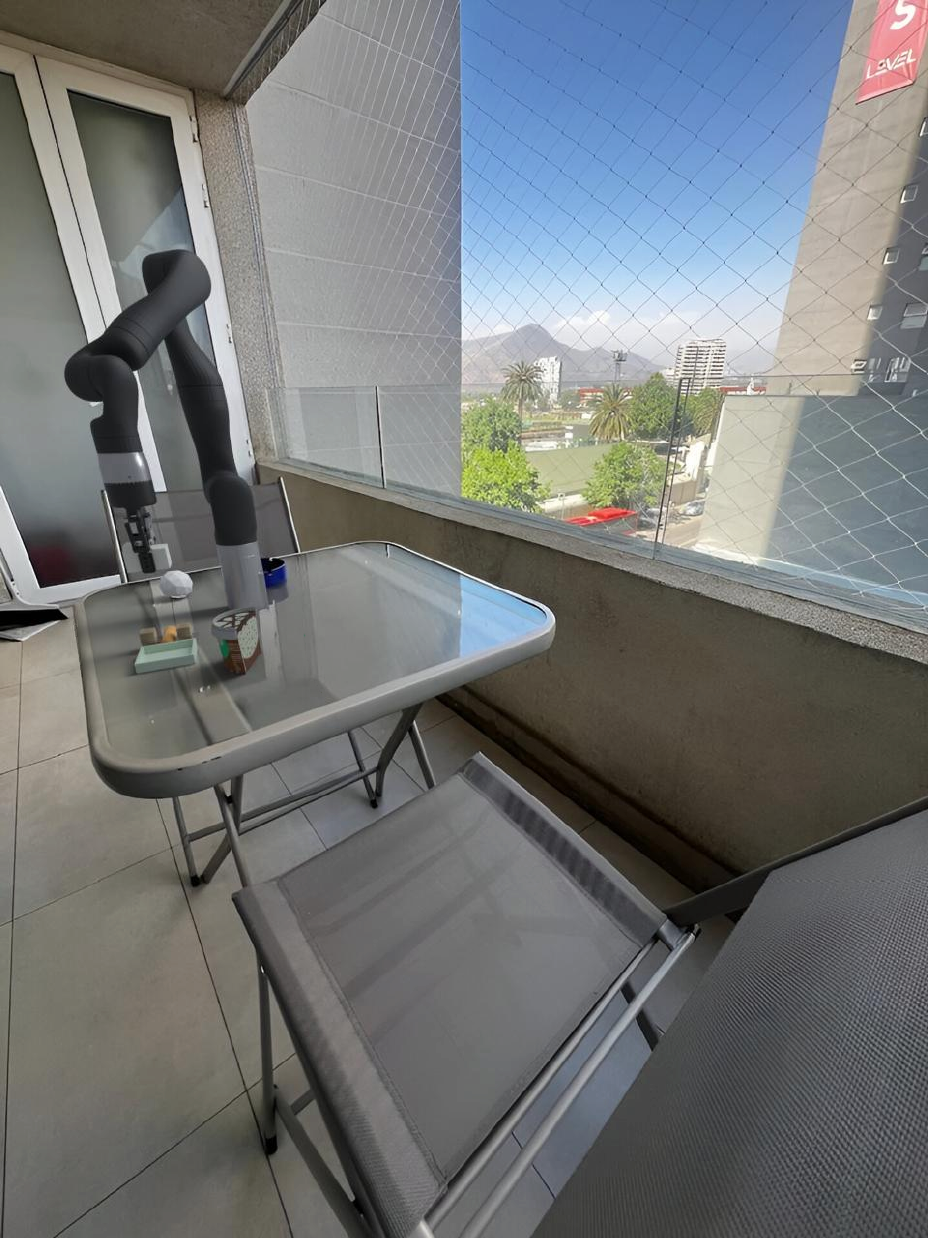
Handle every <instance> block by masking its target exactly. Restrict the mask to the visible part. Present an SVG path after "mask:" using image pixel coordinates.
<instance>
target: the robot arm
mask: <svg viewBox="0 0 928 1238" xmlns="http://www.w3.org/2000/svg"><path fill="white" fill-rule="evenodd" d="M141 263H142V264H141V274H142V279H143V284H144V286H145V289H146V293H147V295H144V296H143V297H142V298H140V299H138V300H137V301H135V302H133V303H132V304H130V305H129V306H127V307H126V308H125V309H123V310H122V311H121V312H120V313H119V314H118V315H117V316H116V317H115V318H114V320H112V322H111V323H110V324H109V326H107V328H105V330H104V331H103V333H102V334H101V335H100V336H98V338H96V339H94V340H91V341H90V342H89V343H87V344H86V345H84V346H83V347H82V348H80V349H79V350H77V351H76V352H75V353H74V354H73V355H71V356H70V358H69V359H68V360H67V362H66V363H65V365H64V366H65V367H64V370H63V374H64V375H63V377H64V382H65V384H66V386H67V388H68V389H69V391H70V392H71V393H72V394H73V395H74V396H76V397H77V398H79V399H81V400H82V401H85V402H91V403H103V406H102V414H101V415H100V416H98V417H95V418H93V419H91V421H90V423H89V427H90V428H89V429H90V430H89V431H90V433H91V437H92V441H93V444H94V447H95V451H96V455H97V460H98V461H97V463H98V468H99V472H100V476H101V478H102V482H103V486H104V489H105V493H106V495H107V496H106V497H107V500H108V504H109V506H110V507H112V508H115V509H121V508H122V509H125V513H126V514H125V517H123V523H124V528H125V530H126V533H127V536H128V540H129V542H131V545H132V548H133V549H132V550H133V551H134V553H136V554H137V555H138V557H139V561H140V565H141V568H142V572H141V573H143V574H147V575H148V574H154V573H156V571H157V570H156V567H155V563H154V559H153V555H152V548H151V545H157V544H156V542H157V538H156V535H155V533H156V532H155V529H154V526H153V518H152V515H151V512H147V510H146V507H149V506H153V505H156V504H157V503H158V499H157V495H156V491H155V487H154V482H153V479H152V474H151V471H150V470H151V469H150V466H149V463H148V460H147V458H146V456H145V453H144V449H143V444H142V442H141V437H140V433H139V428H138V427H139V426H138V424H139V406H140V405H139V401H140V398H139V397H140V394H139V393H140V391H139V390H140V389H139V384H138V381H137V378H136V375H135V373H134V372H137V371H139V370H142V368H144V366H145V365H146V364H147V363H148V362H149V360H150V359H151V357H152V356H153V355H154V353H155V351H157V349H158V347H159V346H160V345H161V343H163V342H164V344H165V348H166V353H167V356H168V358H169V362H170V366H171V370H172V373H173V377H174V381H175V385H176V389H177V394H178V397H179V398H178V399H179V401H180V406H181V408H182V411H183V414H184V417H185V421H186V424H187V427H188V429H189V433H190V436H191V438H192V441H193V444H194V447H195V451H196V454H197V458H198V463H199V464H198V465H199V470H200V477H201V484H202V489H203V495H204V498H205V500H206V502H207V504H209V506H210V508H211V513H212V518H213V525H214V533H213V536H214V542H215V546H216V547H215V548H216V550H217V551H216V552H217V556H218V561H219V566H220V571H221V575H222V581H223V586H224V590H225V595H226V601H227V607H228V611H231V610H235V609H239V608H245V607H256V609H257V612H258V611H259V612H260V611H262V610H264V609H266V610H270V606H269V605H270V604H269V599H268V594H267V588H266V582H265V575H264V571H263V566H262V560H261V555H260V547H259V542H258V536H257V535H258V534H257V531H258V530H257V529H258V523H257V515H256V509H255V501H254V495H253V492H252V489H251V487H250V484H249V483H248V482H247V480H245V479H244V478H243V477H241V476H240V475H239V473H238V469H237V467H236V464H235V460H234V458H233V457H234V456H233V453H232V447H231V422H230V421H231V420H230V419H231V418H230V410H229V405H228V398H227V395H226V390H225V387H224V381H223V379H222V377H221V374H220V373H219V371H218V370H217V368H216V366H215V364H214V363H213V362H212V361H211V360H210V359H209V357H208V356H207V354H206V353H205V352H204V351H203V350H202V348H201V347H200V346H199V344H198V343H197V341H196V340H195V338H194V336H193V334H192V332H191V329H190V326H189V322H188V320H187V316H188V315H190V314H191V313H192V312H194V310H196V309H197V308H199V307H200V306H201V305H203V304H204V303H206V302H207V300H208V299H209V297H210V295H211V293H212V281H211V276H210V274H209V271H208V268H207V267H206V264H205V263H204V262H203V261H202V259H201V258H200V257H199V256H198V255H197V254H196V253H194V252H192V251H191V250H189V249H188V250H187V249H182V248H177V249H170V250H163V251H160V252H154V253H150V254H147V255H146V256H144V258H143V260H142V262H141Z"/></svg>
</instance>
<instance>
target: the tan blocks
mask: <svg viewBox="0 0 928 1238" xmlns="http://www.w3.org/2000/svg"><path fill="white" fill-rule="evenodd" d="M175 627H176V632H177V636H178V640H179V641H181V640H188V639H194V637H193V633H194V632H193V630H192V625H191V622H190V621H188V622H182V623H177V624H176V626H175ZM158 638H159V637H158V634H157V630H156V627H149V628H148V627H147V628H143V629H140V631H139V639H140V642H141V645H142V646H141V647H144V646H150V645H156V644H159V641H158Z"/></svg>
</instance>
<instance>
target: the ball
mask: <svg viewBox="0 0 928 1238" xmlns="http://www.w3.org/2000/svg"><path fill="white" fill-rule="evenodd" d="M193 584H194V583H193V581H192V579H191V577H190V576H189V574H187V573H186V572H183V571H180V570H170V571H167V572H166V573H164V574H163V575H162V576H161V577H160V581H159V586H158V587H159V589H160V591H161V592H162V594H163V595H164V594H165V595H167V596H181V595H187V594H188V593H190V592H191V593H192V592H193ZM191 593H190V594H191ZM165 595H164V596H165ZM188 595H189V594H188ZM188 595H187V596H188ZM167 596H166V597H167Z"/></svg>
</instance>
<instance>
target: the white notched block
mask: <svg viewBox="0 0 928 1238" xmlns="http://www.w3.org/2000/svg"><path fill="white" fill-rule="evenodd" d="M151 548H152V555H153V559H154V563H155V567H156V571H159V570H166V569H167V570H168V569H171V567H172V565H173V561H172V557H171V553H170V550H169V549H170V548H169V545H168V543H160V544H159V543H158V544H156V545H151ZM121 549H122V551H121V553H122V558H123V560H124V564H125V569H126V571H127V574H132V573H140V572H141V573H143V572H142V568H141V565H140V561H139V557H138V555H137V554H136V553H134V551H133V550H132V549H133V548H132V545H131V542H130V541H126V542H124V543H123V545H122V546H121Z"/></svg>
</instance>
